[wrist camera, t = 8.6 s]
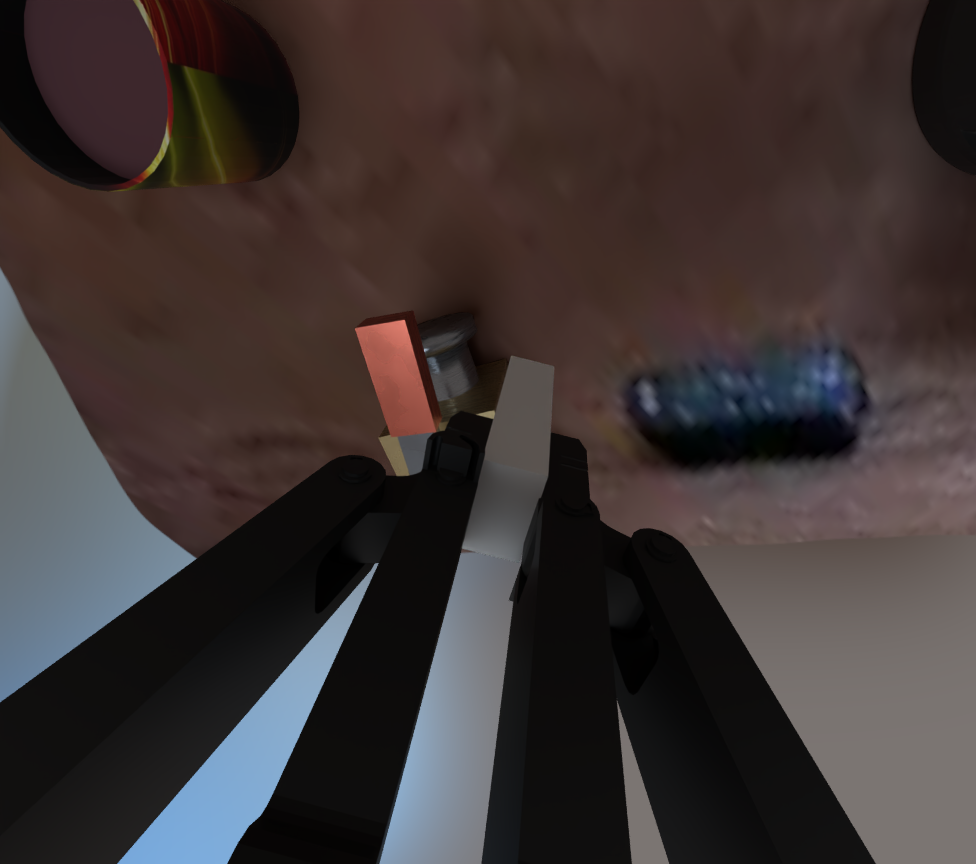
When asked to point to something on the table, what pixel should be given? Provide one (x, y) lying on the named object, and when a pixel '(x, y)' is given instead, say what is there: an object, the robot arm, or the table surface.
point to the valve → (453, 377)
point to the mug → (145, 92)
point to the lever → (401, 382)
